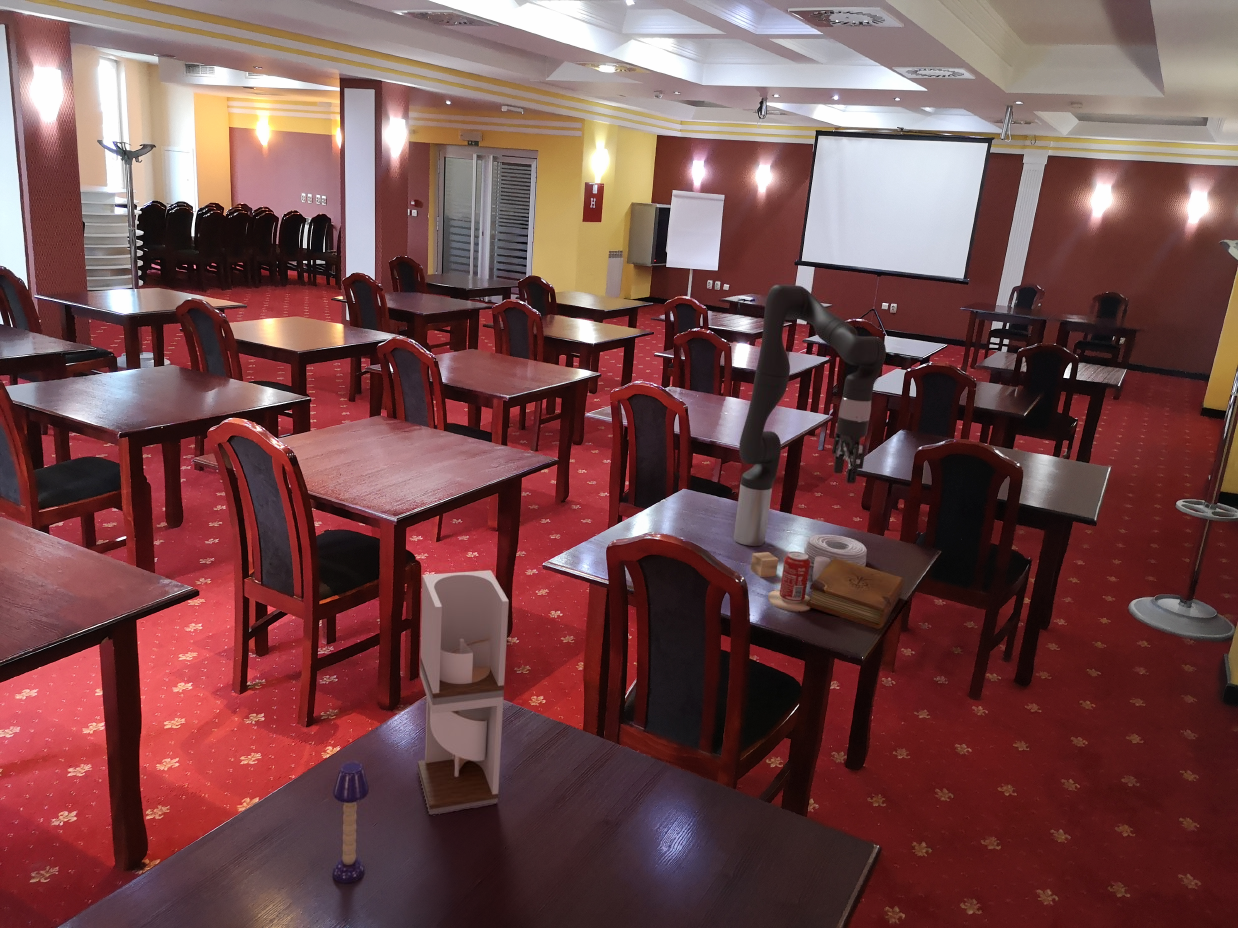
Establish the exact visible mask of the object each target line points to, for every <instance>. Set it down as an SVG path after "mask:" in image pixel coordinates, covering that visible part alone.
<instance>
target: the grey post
mask: <svg viewBox="0 0 1238 928" xmlns="http://www.w3.org/2000/svg"><path fill="white" fill-rule="evenodd" d="M813 564H814V567H812V568H813V571H812V576H811V580H812V581H813V582H814V581H815V580H816V579H817V577H818V576H819V575H820V574H821V573H822V572H823V571H824V569H825V568H826V567H827V566H828V565H829V564H830V559H829V558H826V557H822V556H818V557H815V562H814V563H813Z"/></svg>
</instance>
